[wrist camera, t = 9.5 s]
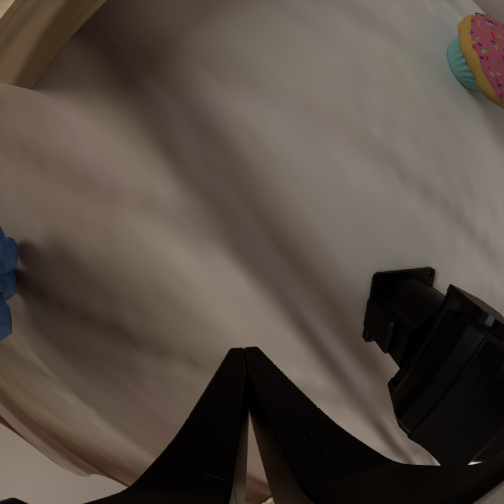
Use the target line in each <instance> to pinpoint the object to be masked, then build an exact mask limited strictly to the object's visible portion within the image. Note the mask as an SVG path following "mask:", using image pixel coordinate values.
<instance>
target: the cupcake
mask: <svg viewBox="0 0 504 504" xmlns="http://www.w3.org/2000/svg"><path fill="white" fill-rule="evenodd" d="M458 32H459V36H458V37H457V38H456V40H455V41H454V42H452V43H451V44H450V46H449V48H448V60H449V64H450V67H451V69H452V71H453V73H454V75H455V76H456V78H457V79H458V81H459V82H460V83H461V84H462V85H463V86H465V87H466V88H468V89H471V90H475V91H479V92H482V93H483V94H484V95H485V96H486V97H487V98H488V99H489V100H490V101H492V102H493V103H495V104H496V105H498V106H500V107H501V108H503V109H504V24H503V25H502V24H501V23H500V22H499V21H498V20H496V19H495V18H492V17H491V16H490V15H489V16H488V15H484V14H481V13H475V15H468V16H467V17H465V18H464V19H463V20H462V21H461V22H460V23H459V25H458Z"/></svg>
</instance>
